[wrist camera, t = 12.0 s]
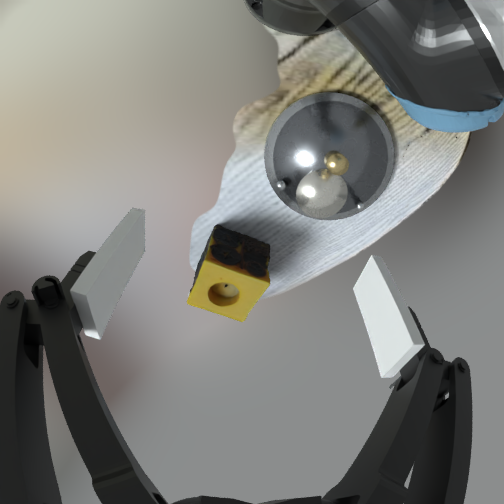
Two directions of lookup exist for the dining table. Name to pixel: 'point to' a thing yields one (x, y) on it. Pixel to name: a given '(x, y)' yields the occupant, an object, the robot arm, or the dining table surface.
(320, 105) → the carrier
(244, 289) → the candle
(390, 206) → the dining table surface
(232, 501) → the robot arm
